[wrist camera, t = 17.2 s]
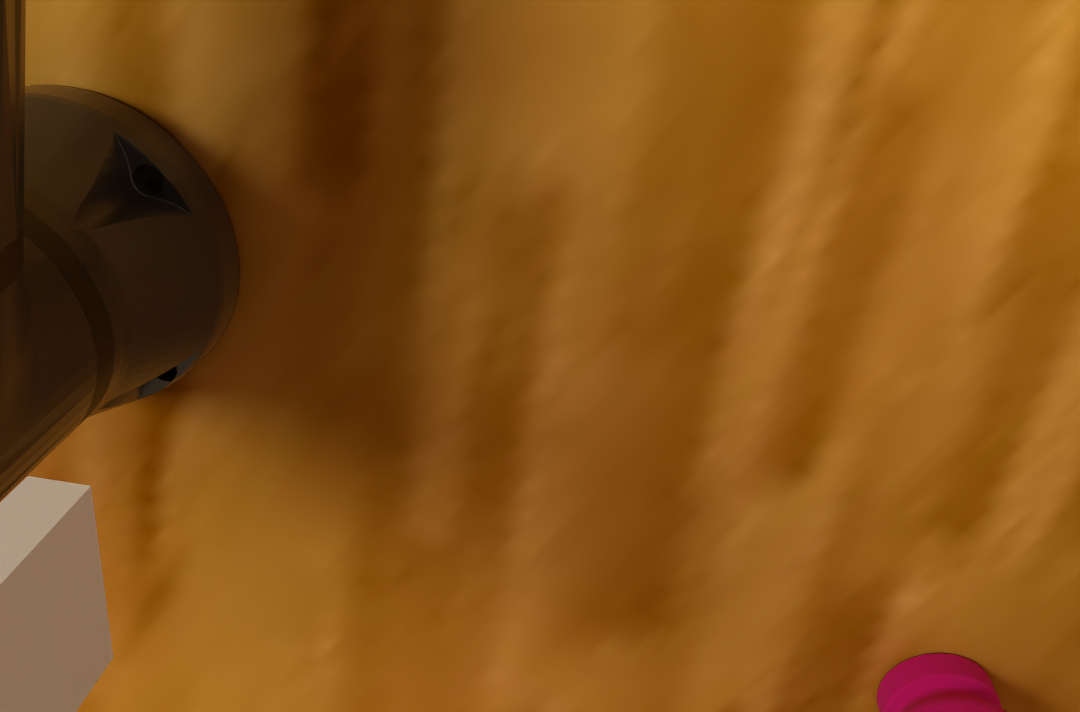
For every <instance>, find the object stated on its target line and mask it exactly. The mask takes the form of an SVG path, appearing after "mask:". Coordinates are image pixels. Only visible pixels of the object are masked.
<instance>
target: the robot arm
mask: <svg viewBox="0 0 1080 712" xmlns="http://www.w3.org/2000/svg"><path fill="white" fill-rule="evenodd" d="M25 1H26V0H0V501H1V500H2V499H3V498H4V497H5V496H6V495H7V494H8V493H9V492H10V491H11V490H12V489H13V488H15V487H16V486H17V485H18V484H19V483H20V482H21V481H22V480H23V479H24V478H25V477H26V476H27V475H28V474H29V473H30V472H31V471H32V470H33V469H34V468H35V467H36V466H37V465H38V464H39V463H40V462H41V461H43V460H44V459H45V458H46V457H47V456H48V455H49V454H50V453H51V452H52V451H53V450H54V449H55V448H56V447H57V446H58V445H59V444H60V443H61V442H62V441H63V440H64V439H65V438H66V437H67V436H68V435H70V433H71V432H72V431H73V430H74V429H75V428H76V427H77V426H78V425H80V424H81V423H82V422H83V421H84V420H85V419H86V418H87V417H90V416H92V415H95V414H98V413H101V412H104V411H107V410H109V409H112V408H115V407H118V406H121V405H124V404H126V403H129V402H132V401H135V400H138V399H140V398H144V397H147V396H149V395H152V394H154V393H156V392H159V391H161V390H163V389H165V388H167V387H168V386H170V385H172V384H173V383H175V382H176V381H178V380H179V379H181V378H182V377H183V376H185V375H186V374H187V373H188V372H189V371H190V370H191V369H192V368H194V367H195V366H196V365H197V363H198V362H199V361H200V360H201V359H202V358H203V357H204V356H205V355H206V354H207V353H208V352H209V351H210V350H211V348H212V347H213V346H214V345H215V344H216V343H217V341H218V340H219V338H220V337H221V336H222V334H223V332H224V331H225V329H226V327H227V325H228V323H229V321H230V319H231V316H232V313H233V310H234V307H235V303H236V300H237V294H238V287H239V258H238V251H237V245H236V240H235V236H234V232H233V229H232V226H231V222H230V220H229V217H228V215H227V212H226V210H225V207H224V205H223V203H222V201H221V199H220V197H219V195H218V193H217V192H216V190H215V188H214V186H213V185H212V183H211V182H210V180H209V178H208V177H207V176H206V174H205V173H204V171H203V170H202V169H201V167H200V166H199V165H198V164H197V162H196V161H195V160H194V159H193V157H192V156H191V155H190V154H189V153H188V152H187V151H186V150H185V149H184V148H183V147H182V146H181V145H180V144H179V143H178V142H177V141H176V140H175V139H174V138H173V137H172V136H171V135H169V134H168V133H167V132H166V131H165V130H164V129H162V128H161V127H160V126H158V125H157V124H156V123H154V122H153V121H152V120H150V119H149V118H147V117H145V116H144V115H142V114H141V113H139V112H137V111H136V110H134V109H132V108H130V107H129V106H127V105H124V104H122V103H120V102H118V101H116V100H114V99H111V98H109V97H106V96H104V95H101V94H98V93H95V92H91V91H87V90H83V89H79V88H74V87H68V86H59V85H32V86H25ZM112 659H113V651H112V643H111V636H110V628H109V620H108V613H107V605H106V597H105V590H104V582H103V574H102V566H101V559H100V551H99V543H98V536H97V528H96V520H95V513H94V505H93V497H92V489H91V486H89V485H82V484H76V483H69V482H63V481H56V480H50V479H43V478H37V477H30V476H27V477H26V478H25V479H24V480H23V481H22V482H21V483H20V484H19V485H18V486H17V487H16V488H15V489H14V490H13V491H12V492H11V493H10V494H9V495H8V496H7V497H6V498H5V499H3V500H2V501H1V502H0V712H76V711H77V710H78V708H79V707H80V705H81V704H82V702H83V701H84V700H85V698H86V697H87V695H88V694H89V692H90V691H91V689H92V688H93V686H94V685H95V683H96V682H97V681H98V679H99V678H100V676H101V675H102V673H103V672H104V670H105V669H106V667H107V666H108V664H109V663H110V662H111V660H112Z"/></svg>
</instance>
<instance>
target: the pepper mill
mask: <svg viewBox="0 0 1080 712" xmlns="http://www.w3.org/2000/svg"><path fill="white" fill-rule="evenodd" d="M877 704H878V707H879V711H880V712H1006V711H1005V710H1003V709H1002V706H1001V703H1000V700H999V697H998V695H997V693H996V691H995V689H994V686H993V684H992V682H991V680H990V678H989V676H988V674H987V673H986V672H985V671H984V670H983V669H982V668H981V667H980V666H979V665H977V664H976V663H974V662H973V661H971V660H969V659H967V658H964V657H961V656H958V655H953V654H945V653H934V654H923V655H920V656H916V657H913V658H910V659H908V660H906V661H903V662H901V663H899V664H898V665H897V666H895V667H894V668H893V669H892V670H890V671H889V672H888V673H887V674H886V676H885V677H884V678H883V680H882V681H881V683H880V685H879V688H878V692H877Z"/></svg>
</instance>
